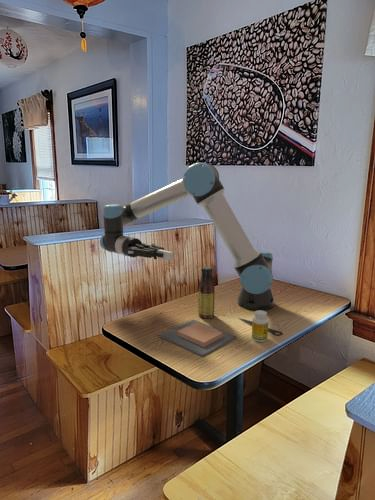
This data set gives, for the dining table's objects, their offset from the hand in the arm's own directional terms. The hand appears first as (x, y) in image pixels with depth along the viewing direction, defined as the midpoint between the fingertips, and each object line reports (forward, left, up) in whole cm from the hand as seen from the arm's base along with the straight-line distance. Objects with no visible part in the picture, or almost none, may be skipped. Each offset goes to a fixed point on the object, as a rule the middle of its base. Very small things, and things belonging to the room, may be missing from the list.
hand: (171, 256), depth 128 cm
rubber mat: (-6, +11, -26) cm, 29 cm away
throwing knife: (-31, +8, -27) cm, 42 cm away
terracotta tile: (-4, +7, -25) cm, 26 cm away
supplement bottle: (-26, +18, -27) cm, 41 cm away
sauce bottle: (-15, -5, -26) cm, 31 cm away
